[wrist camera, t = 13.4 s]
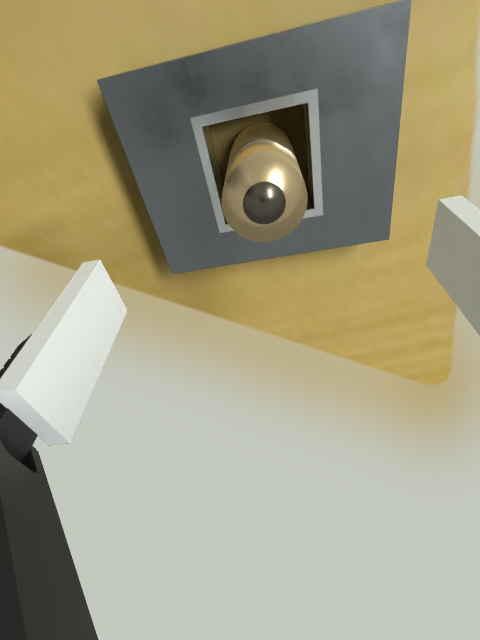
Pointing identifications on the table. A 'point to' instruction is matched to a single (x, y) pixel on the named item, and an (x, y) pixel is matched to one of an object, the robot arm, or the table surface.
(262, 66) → the plate
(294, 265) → the table surface
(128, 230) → the table surface
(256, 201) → the brass domed cylinder
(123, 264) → the table surface
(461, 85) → the table surface
